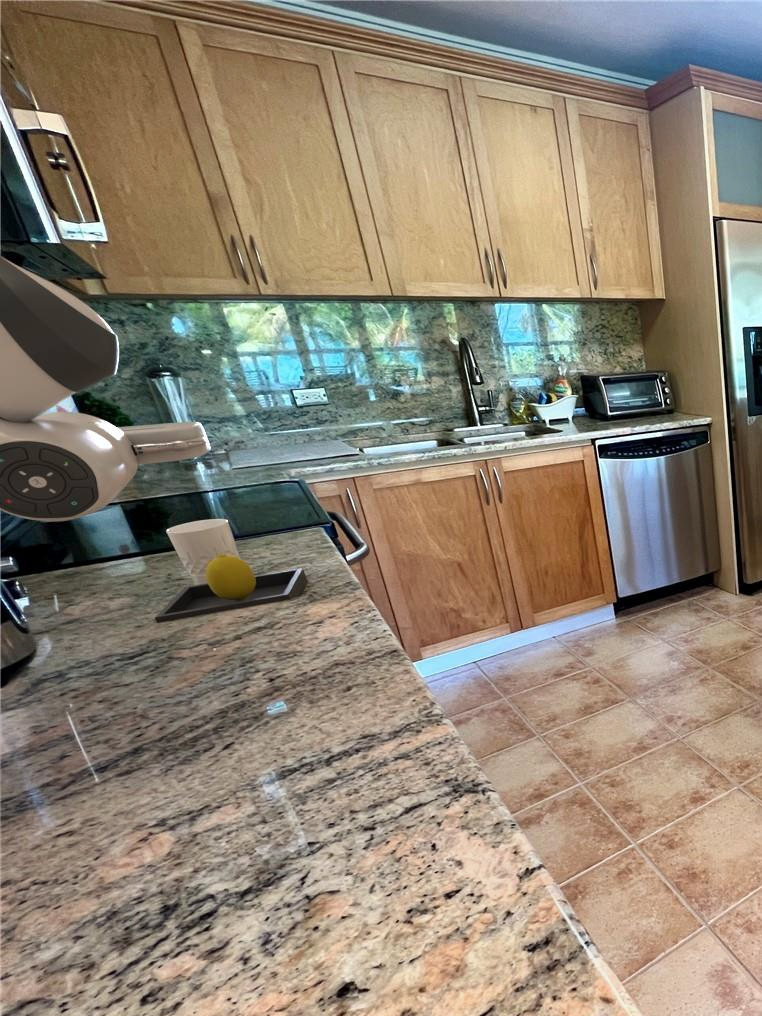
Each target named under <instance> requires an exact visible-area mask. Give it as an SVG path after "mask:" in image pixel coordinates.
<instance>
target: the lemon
mask: <svg viewBox="0 0 762 1016" xmlns="http://www.w3.org/2000/svg"><path fill="white" fill-rule="evenodd" d="M255 576H256V575H255V573H254V571H253V569H252V567H250V565H249V564H248V563H247V562H246V561H245V560H244V559H242V558H241V557H240V558H238V557H235V556H230V555H225V554H220V555H218V557H217V558H215V559H213V560H212V561H211V562H210V563H209V564H208V566H207V568H206V578H207V582H208V584H209V587H210V588H211V590H212V591H213V592H214V593H215V594H216V595H218V596H219V597H221V598H224V599H227V600H234V601H236V602H239V601H244V600H245V598H246V597H247V596H249V595H250V594H251V593H252V592H253V591H254V589H255V585H256V579H255Z"/></svg>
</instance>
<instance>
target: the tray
mask: <svg viewBox="0 0 762 1016" xmlns="http://www.w3.org/2000/svg"><path fill="white" fill-rule="evenodd" d="M255 579H256V585H255V589H254V591H253V592H252V593H251V594H250V595H249V596H247V597H246V598H245V600H244V601H239V602H236V601H234V600H227V599H224V598H221V597H219V596H218V595H216V594H215V593H214V592H213V591H212V590H211V588H210V587H209V584H208V583H206V584H200V585H195V584H194V585H188V586H187V585H186V586H184V587H183V588H182V589H181V590H180V591H179V592H178V593H176V595H175V596H174V597H173V598H172V599H171V600H170V601H169V602H168V603H167V604H166V605H165V606H164V607H163V608H162V609H161V610H160V611H159V612H158V613H157V614H156V616H154V620H155V621H156V623H157V624H158V623H163V622H169V621H175V620H181V619H182V620H183V619H186V618H187V619H188V618H192V617H198V616H203V615H204V616H205V615H210V614H214V613H220V612H226V611H232V610H237V609H243V608H249V607H256V606H260V605H267V604H273V603H279V602H284V601H289V600H291V599H295V598H300V597H301V595H302V594H303V592H304V590H305V588H306V586H307V584H308V578H307V576H306V573H305V570H304V567H300V568H294V569H289V570H282V571H275V572H270V573H264V574H256V575H255Z"/></svg>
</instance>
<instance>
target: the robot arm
mask: <svg viewBox="0 0 762 1016" xmlns="http://www.w3.org/2000/svg"><path fill="white" fill-rule="evenodd" d="M119 345H120V344H119V338H118V334H116V332H114V331H113V329H112V328H111V327H110V325H109V324H108V323H107V321H105V319H103V318H102V317H101V316H100V315H99V314H98V313H97V312H96V311H95V310H93V308H92V307H90V306H89V305H87V304H86V303H85V302H84V301H82V300H80V299H79V298H78V297H76V296H75V295H73V294H72V293H70V292H68V291H67V290H65V289H64V288H61V287H60V286H58V285H56V284H55V283H53V282H52V281H51V282H50V281H49V280H47V279H45V278H43V277H41V276H39V275H37V274H35V273H34V272H31V271H29V270H26V269H25V268H23V267H21V266H19V265H17V264H15V263H13V262H12V261H10V260H8V259H7V258H6V257H4V256H3V255H1V254H0V511H1V512H4V513H7V514H9V515H11V516H15V517H18V518H22V519H27V520H32V521H40V522H66V521H72V520H77V519H80V518H84V517H86V516H89V515H92V514H94V513H97V512H98V511H100V510H102V509H104V508H105V507H106V506H108V505H109V504H110V503H112V502H113V501H114V500H115V499H116V498H117V497H118V496H119V494H121V492H122V491H123V490H124V489H125V488H126V487H127V485H129V483H130V482H131V481H132V480H133V478H134V477H135V475H136V473H137V471H138V467H139V466H140V465H141V466H142V465H149V464H150V465H151V464H159V463H169V462H176V461H177V462H178V461H179V462H180V461H185V460H191V459H195V458H199V457H202V456H204V455H206V454H207V453H209V452H210V451H211V445H210V442H209V440H208V439H209V438H208V437H207V434H206V432H205V429H204V427H203V425H202V424H201V423H200V422H198V421H182V422H181V421H179V422H168V423H167V422H166V423H155V424H143V425H131V426H130V425H129V426H117V427H116V426H115V425H113V424H112V423H110V422H108V421H106V420H104V419H102V418H100V417H97V416H94V415H90V414H86V413H82V412H77V411H76V412H75V411H55V412H49V413H46V412H47V411H49V410H51V409H52V408H54V407H55V406H57V405H59V404H60V403H62V402H63V401H65V400H66V399H68V398H70V397H71V396H73V395H74V394H76V393H81V392H83V391H85V390H87V389H90V388H91V387H93V386H95V385H97V384H100V383H101V382H103V381H105V380H107V379H109V378H111V377H113V376H115V375H117V371H118V366H119V361H120V360H119V359H120V347H119Z"/></svg>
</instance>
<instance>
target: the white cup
mask: <svg viewBox="0 0 762 1016" xmlns="http://www.w3.org/2000/svg"><path fill="white" fill-rule="evenodd" d="M165 532H166V534H167V536H168V538H169V541H170V542H171V544H172V546H173V548H174V550H175V552H176V553H177V555H178V557H179V559H180V561H181V563H182V565H183V567H184V569H185V571H186V572H187V573H188V574H189V576H190V578H191V580H192V582H193V584H194V585H200V584H206V583H208V582H207V578H206V568H207V566H208V564H209V563H210V562H211V561H212V560H213V559H215V558H217V557H218V555H220V554H225V555H230V556H235V557H238V558H240V559H241V557H240V553H239V550H238V548H237V544H236V541H235V538H234V535H233V532H232V529H231V526H230V523H229V521H228V520H227V519H225V518H212V519H211V518H210V519H202V520H201V519H200V520H195V521H191V522H186V523H181V524H178V525H174V526H171V527H169V528H167V529H166V531H165Z"/></svg>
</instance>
